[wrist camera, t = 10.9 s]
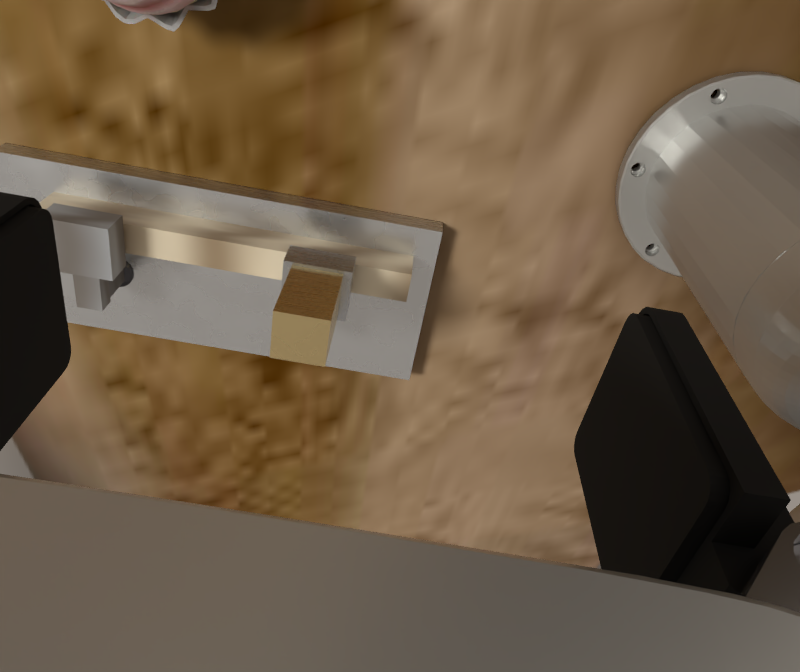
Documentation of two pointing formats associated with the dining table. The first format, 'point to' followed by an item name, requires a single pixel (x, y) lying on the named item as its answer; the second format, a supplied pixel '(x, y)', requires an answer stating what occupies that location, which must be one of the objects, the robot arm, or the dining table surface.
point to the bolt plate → (230, 291)
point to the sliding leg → (310, 304)
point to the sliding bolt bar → (191, 248)
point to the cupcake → (157, 10)
